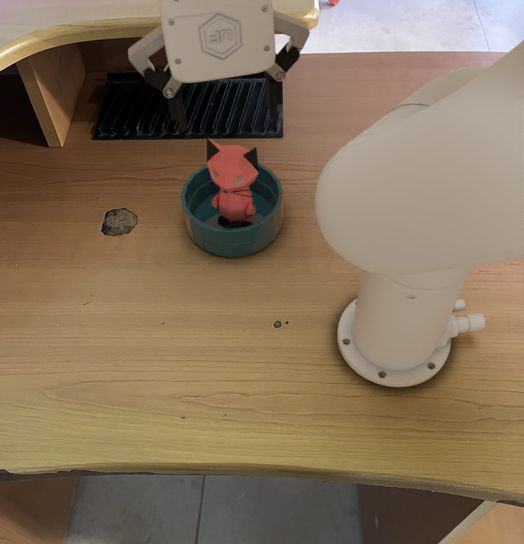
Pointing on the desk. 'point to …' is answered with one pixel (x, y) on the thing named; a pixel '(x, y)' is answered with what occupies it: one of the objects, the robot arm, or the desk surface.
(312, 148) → the desk surface
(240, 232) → the bowl
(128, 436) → the desk surface
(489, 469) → the desk surface
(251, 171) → the cat figurine
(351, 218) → the robot arm
